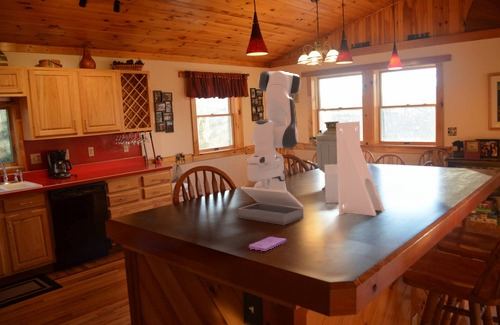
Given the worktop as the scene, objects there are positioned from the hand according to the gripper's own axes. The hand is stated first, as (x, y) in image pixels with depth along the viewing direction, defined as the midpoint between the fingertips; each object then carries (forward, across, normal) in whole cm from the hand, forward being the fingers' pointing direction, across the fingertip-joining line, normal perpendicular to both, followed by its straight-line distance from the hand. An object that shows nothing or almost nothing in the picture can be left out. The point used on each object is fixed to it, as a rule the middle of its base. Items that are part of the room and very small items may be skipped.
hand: (266, 189), depth 175 cm
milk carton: (+14, -43, +7) cm, 46 cm away
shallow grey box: (+13, -1, 0) cm, 13 cm away
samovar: (+14, -78, -10) cm, 80 cm away
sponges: (+14, +30, +24) cm, 41 cm away
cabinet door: (+5, -3, 0) cm, 5 cm away
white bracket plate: (+14, -31, +30) cm, 45 cm away
